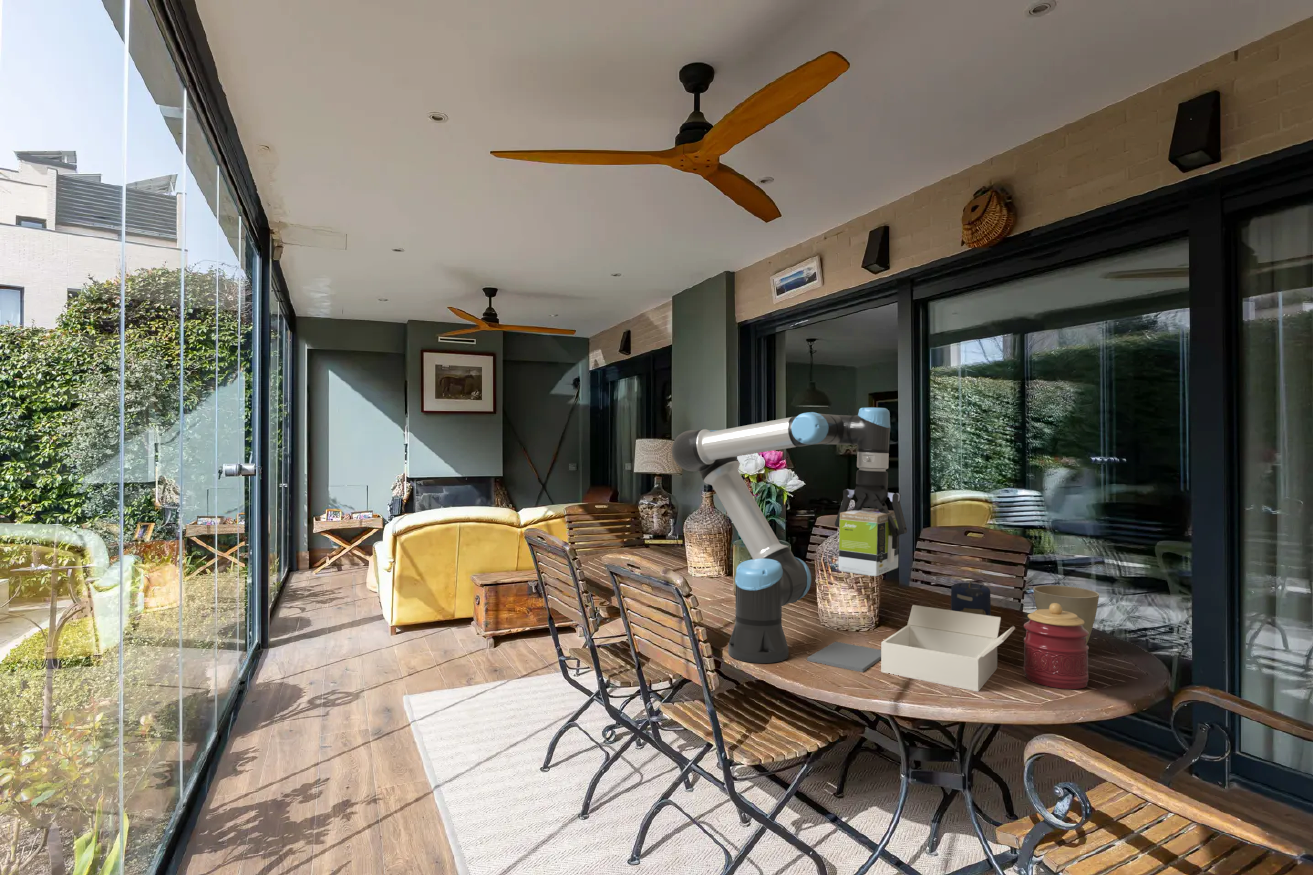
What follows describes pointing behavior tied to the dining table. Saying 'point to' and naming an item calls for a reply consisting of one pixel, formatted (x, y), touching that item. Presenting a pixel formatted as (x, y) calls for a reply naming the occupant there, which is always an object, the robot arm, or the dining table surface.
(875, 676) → the dining table surface
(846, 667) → the mat
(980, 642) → the carton
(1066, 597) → the plant pot
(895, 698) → the dining table surface
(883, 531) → the tea box
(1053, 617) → the canister
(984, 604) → the canister
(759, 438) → the robot arm
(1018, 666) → the dining table surface
